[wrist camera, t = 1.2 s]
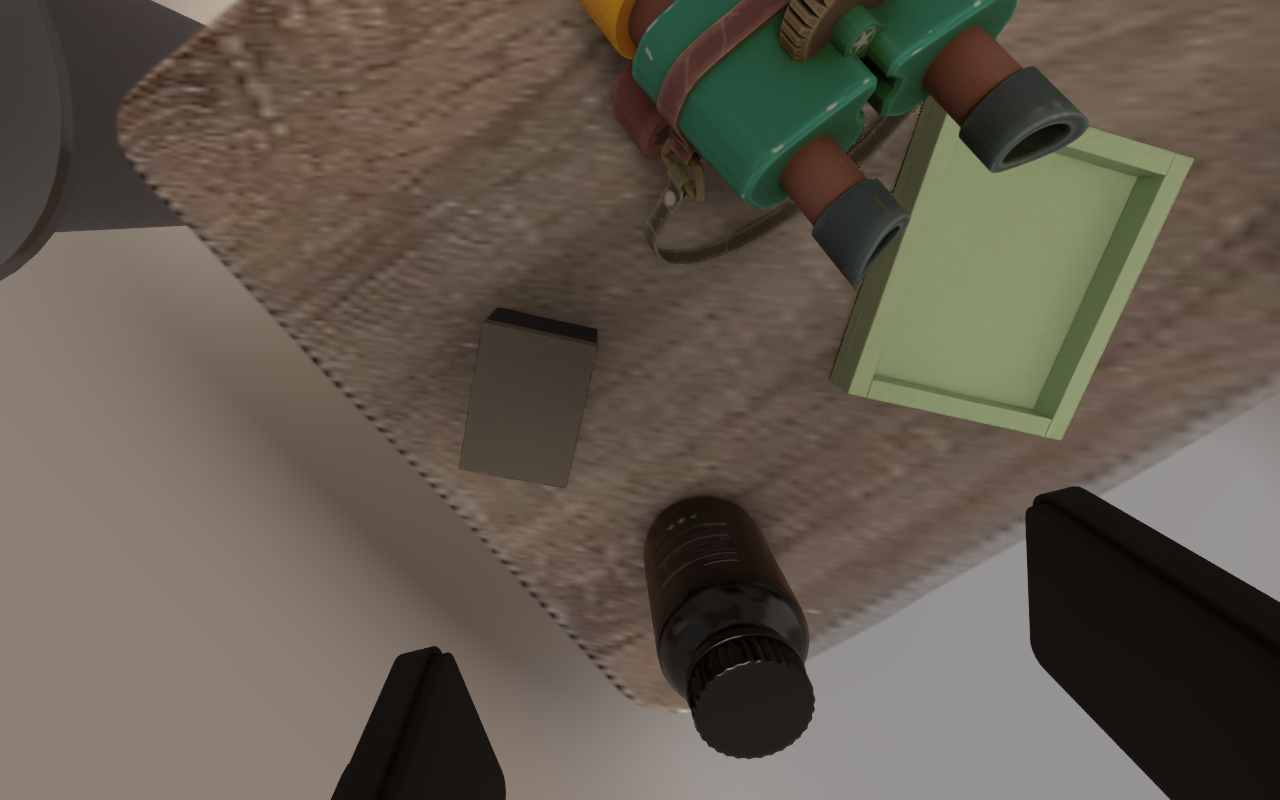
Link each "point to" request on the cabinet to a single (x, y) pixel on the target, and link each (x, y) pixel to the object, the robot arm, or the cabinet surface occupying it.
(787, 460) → the cabinet surface
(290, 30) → the cabinet surface
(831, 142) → the binoculars
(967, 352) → the rectangular tray
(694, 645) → the supplement bottle
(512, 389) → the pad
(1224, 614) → the robot arm
